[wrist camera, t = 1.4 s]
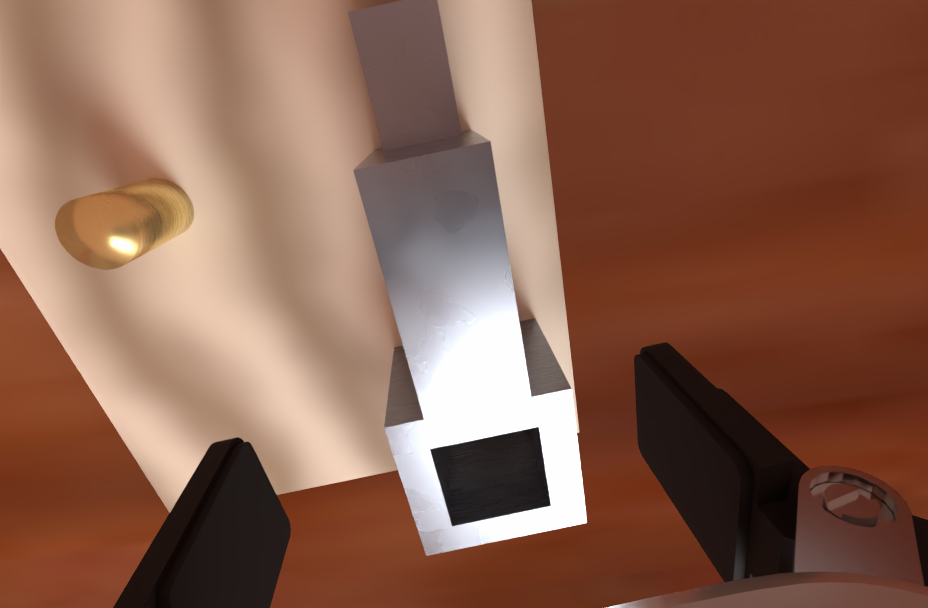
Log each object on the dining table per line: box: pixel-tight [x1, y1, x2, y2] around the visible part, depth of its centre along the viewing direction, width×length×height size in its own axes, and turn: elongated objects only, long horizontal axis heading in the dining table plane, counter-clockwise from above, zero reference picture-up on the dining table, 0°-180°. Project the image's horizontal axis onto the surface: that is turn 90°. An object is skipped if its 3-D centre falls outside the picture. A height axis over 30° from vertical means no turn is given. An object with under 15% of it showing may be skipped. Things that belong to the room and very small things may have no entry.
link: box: [348, 0, 587, 555], centre depth 18 cm, size 20×7×6 cm, turn 11°
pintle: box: [55, 178, 194, 270], centre depth 18 cm, size 2×2×6 cm
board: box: [0, 0, 579, 513], centre depth 20 cm, size 23×32×2 cm
